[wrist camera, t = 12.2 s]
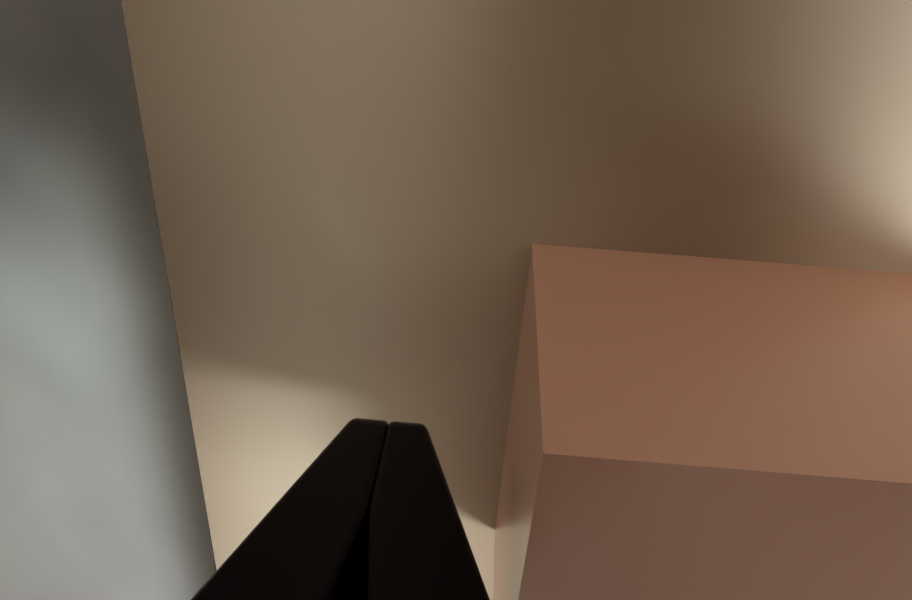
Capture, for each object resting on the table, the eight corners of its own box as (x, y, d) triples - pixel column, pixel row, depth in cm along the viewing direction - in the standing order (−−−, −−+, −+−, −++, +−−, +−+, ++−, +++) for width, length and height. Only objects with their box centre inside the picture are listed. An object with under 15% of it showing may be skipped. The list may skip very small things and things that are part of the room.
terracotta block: (494, 529, 11) (490, 761, 8) (532, 243, 8) (542, 452, 6) (825, 557, 10) (924, 799, 8) (968, 277, 8) (1178, 505, 5)
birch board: (295, 715, 19) (263, 852, 17) (214, -165, 9) (96, -143, 6) (693, 752, 19) (720, 896, 17) (1102, -90, 9) (1340, -38, 6)
